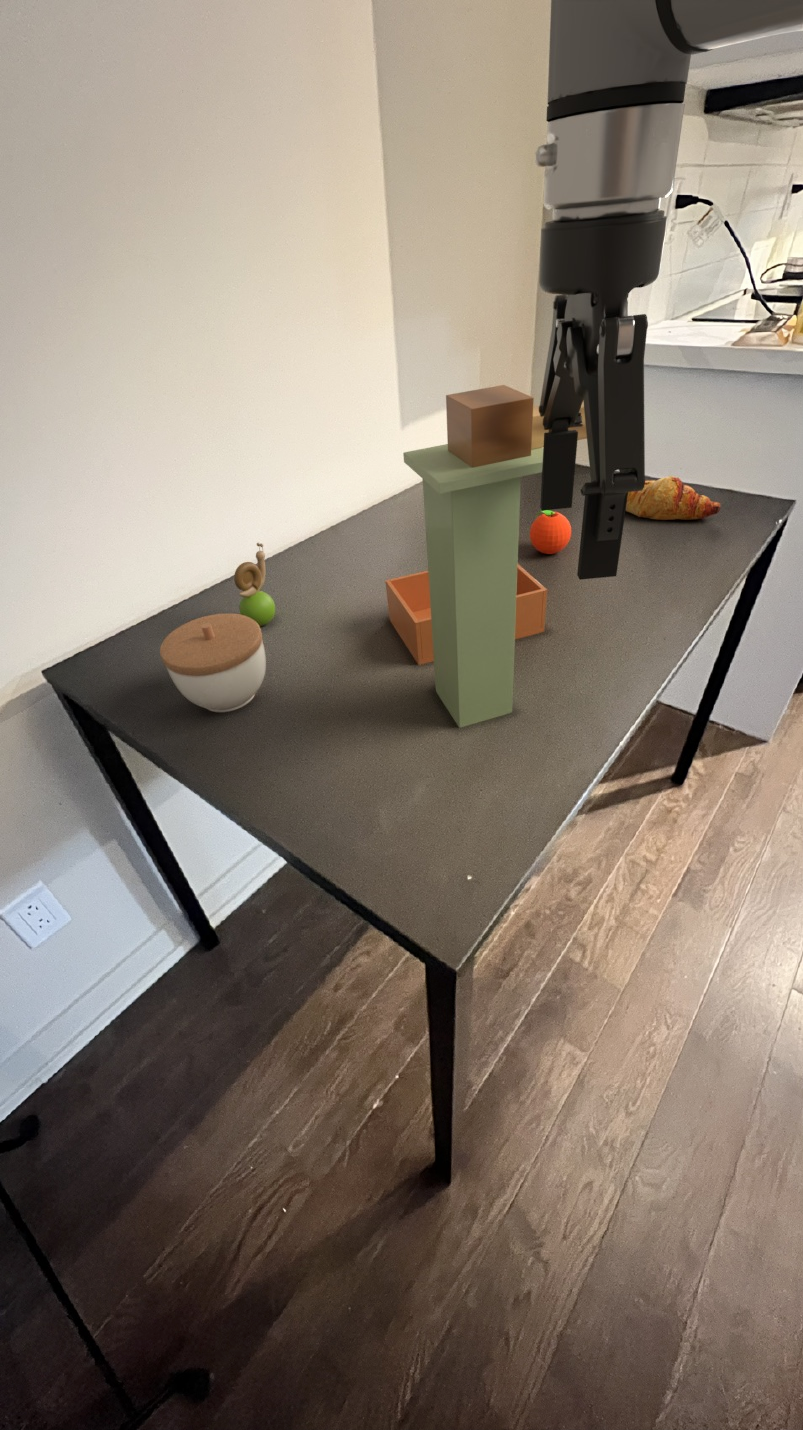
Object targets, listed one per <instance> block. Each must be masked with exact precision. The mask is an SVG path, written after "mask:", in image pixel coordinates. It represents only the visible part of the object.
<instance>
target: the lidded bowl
mask: <svg viewBox="0 0 803 1430" xmlns="http://www.w3.org/2000/svg"><path fill="white" fill-rule="evenodd" d="M159 654H160V659H161V661H162V663H163V665H164V666H165V669H166V670H167V672H168V674H169V677H170V679H171V681H172V682H173V685H175V687H176V688H177V690H178V691H179V692H180V694H181V695H182V696H183V697H185V699H186V700H188V701H189V702H191V703H192V704H194V705H196V706H198V707H201V708H204V709H206V710H208V711H210V712H215V713H229V712H233V711H236V710H238V709H240V708H243V707H244V706H246V705H248V704H249V703H250V702H251V701H252V700H253V699H254V697H256V696H255V695H256V693H257V692H258V691H259V689H260V688H261V686H262V685H263V682H264V679H265V677H266V671H267V657H266V649H265V646H264V641H263V634H262V629H261V626H259V625H258V623H257V622H256V621H254V620H253V619H251V618H249V617H247V616H244V615H241V614H240V613H215V614H209V615H205V616H201V617H198V618H195V619H192V620H190V621H188V622H185V623H183V624H182V625H179V626H178V627H176V628H175V629H174V630H172V631H171V632H170V633H169V634H167V636H166V637H165V638H164V639H163V641H162V643H161V645H160V648H159Z"/></svg>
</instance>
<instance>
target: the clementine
mask: <svg viewBox="0 0 803 1430" xmlns="http://www.w3.org/2000/svg"><path fill="white" fill-rule="evenodd" d="M541 513H542V514H541ZM539 514H540V515H539ZM571 537H572V526H571V523H570V521H569V520H568V519H567V517H566V516H565V515H563V514H562V513H560V512H558V511H553V510H543V511H542V510H541V511H539V512H537V513H536V515H535V519H534V521H533V522H532V524H531V526H530V530H529V540H530V542H531V544H532V546H533V548H535V550H537V551H538V552H540V553H542V554H546V555H553V554H556V553H558V552H561V551H563V550H564V549H565V548H566V546H567V545H568V544H569V542H570V540H571Z"/></svg>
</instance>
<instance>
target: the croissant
mask: <svg viewBox="0 0 803 1430" xmlns="http://www.w3.org/2000/svg"><path fill="white" fill-rule="evenodd" d="M721 506H722V504H721V503H720V502H718V501H711V499H710V497H708V496H706V495H704V494H701V495H700V494H699V493H697V492H696V491H695V489H694V488H692V486H689V485H687V484H684V482H683V481H682V480H681V478H680V477H676V476H673V475H669V476H666V477H661V478H658V479H657V480H645V486H644V488H643V490H642V491H634V492H628V497H627V504H626V511H625V512H627V513H629V514H632V515H634V516H637V517H638V518H645V519H650V520H655V521H656V520H657V521H658V520H659V521H667V520H684V521H688V520H689V521H690V520H699V519H700V520H702V519H705V518H707V517H710V516H714V515H717V514H718V513H719V512H720V510H721Z"/></svg>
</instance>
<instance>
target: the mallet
mask: <svg viewBox="0 0 803 1430" xmlns="http://www.w3.org/2000/svg"><path fill="white" fill-rule="evenodd" d="M539 406H540V405H534V397H533V396H531V395H529V394H526V393H524V392H522V391H520V390H517V389H514V388H512V387H510V386H508V385H506V384H502V385H501V384H500V385H495V386H489V387H483V388H479V389H473V390H467V391H461V392H455V393H450V394H446V395H445V407H446V408H445V409H446V411H445V412H446V429H447V430H446V436H447V444H448V451H450V452H451V453H453V454H454V455H455V456H457V457H458V458H460V459H461V460H462V461H464V462H465V463H467V464H468V465H469V466H471V467H472V468H473V467H477V466H482V465H487V464H492V463H497V462H502V461H507V460H512V459H517V458H522V457H527V456H531V450H532V449H537V448H543V447H544V433H548V432H549V430H544V426H543V418H544V417H541V416H540V413H539ZM579 413H581V416H582V423H581V424H583V426H581V427H571V428H568V430H577V431H578V440H577V441H581V440H585V439H586V440H587V433H586V423H585V412H584V402H582V405H581V408H580V411H579Z"/></svg>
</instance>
